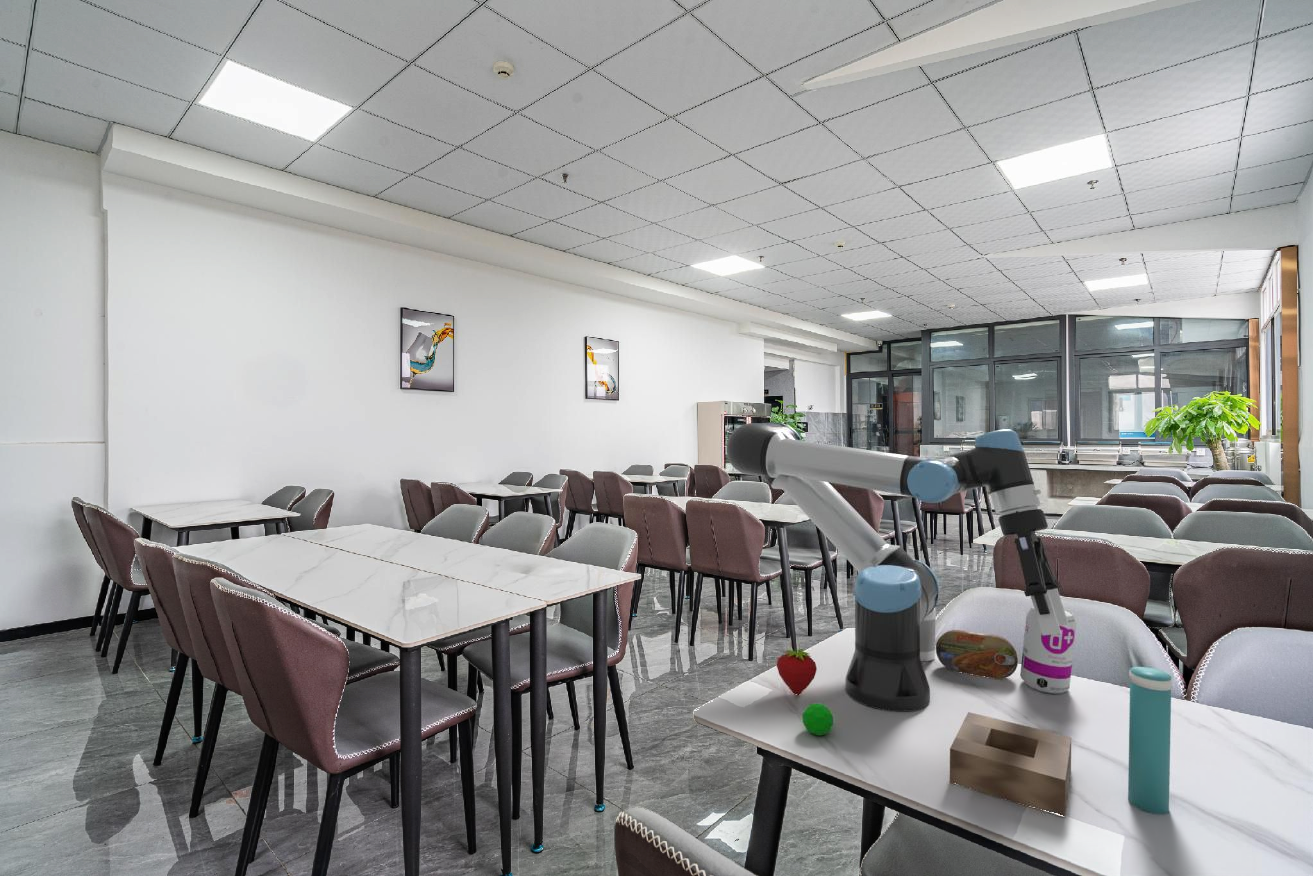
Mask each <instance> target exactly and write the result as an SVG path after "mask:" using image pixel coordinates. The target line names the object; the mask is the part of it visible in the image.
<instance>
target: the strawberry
mask: <svg viewBox="0 0 1313 876" xmlns="http://www.w3.org/2000/svg"><path fill="white" fill-rule="evenodd" d="M782 653H784V654H782V655H780V656H779V657H778V658H777V661H776V662H777V663H776V669H777V671H778V675H779V676H780V678H781V680H782V681H783V682H784V684H785V685H786V687H787V688H788V689H789V690H790V691H791V693H792V694H793V695H795V694H797V695H796V696H799V694H800V695H801V694H802V693H803V692H804V691H805V690H806V689H807V688H808V687H809V686H810V684H811V683H812V681H814V679H815V676H816V673H817V671H818V669H817V664H816V662H815V660H814V659H813V658H812V656H811V655H810V653H809V652H806V651H804V648H800V641H798V649H797V651H796V650H791V649H786V651H782Z"/></svg>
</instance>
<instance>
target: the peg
mask: <svg viewBox="0 0 1313 876" xmlns="http://www.w3.org/2000/svg"><path fill="white" fill-rule="evenodd" d="M1128 676H1129V677H1128V681H1129V716H1128V717H1129V719H1128V722H1129V723H1128V727H1129V728H1128V729H1129V731H1128V776H1127V777H1128V778H1127V779H1128V783H1127V785H1128V786H1127V790H1128V791H1127V799H1128V802H1129V803H1130V804H1131V805H1132V806H1134V807H1135V808H1137V809H1139V810H1141V811H1144V812H1147V813H1151V814H1154V815H1166V814H1168V813H1169V811H1170V778H1171V777H1170V775H1171V729H1172V728H1171V724H1172V723H1171V721H1172V720H1171V719H1172V718H1171V715H1172V711H1171V710H1172V690H1173V677H1172V676H1171V675H1170V673H1168V672H1165V671H1162V670H1160V669H1156V668H1152V667H1146V666H1133V667H1131V668H1130V669H1129V672H1128Z"/></svg>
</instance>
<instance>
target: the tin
mask: <svg viewBox="0 0 1313 876" xmlns="http://www.w3.org/2000/svg"><path fill="white" fill-rule="evenodd" d="M935 655H936V657H937V658H938V661H939V662H940V663H941V664H942V666H944V667H945V668H946V669H948V670H950V671H951V672H954V671H955V673H959V672H962V673H961V674H964V673H967V674H966V675H970V674H973V675H972V676H976V675H978V676H977V677H982V676H985V677H984V678H987V677H988V678H989V679H993V678H994V680H1004V679H1007V678H1009V677H1010V676H1012V675H1013V674H1014V673H1015V671H1016V670H1017V668H1018V664H1019V659H1018V654H1017V651H1016V649H1015V647H1014V645H1013V644H1012V642H1010V641H1008V639H1006V638H1004V637H1003V636H999V635H995V634H988V633H981V632H973V631H968V630H967V631H966V630H960V629H959V630H958V629H952V630H948V631H946V632H944V633H943V634H941V636H940V637H938V639H937V641H936V642H935Z"/></svg>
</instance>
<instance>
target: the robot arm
mask: <svg viewBox="0 0 1313 876" xmlns="http://www.w3.org/2000/svg"><path fill="white" fill-rule="evenodd" d="M726 457H727V459H728V461H729V463H730V464H731V466H732V467H733V468H734V469H735V470H736V471H738V472H739V473H741V474H744V475H747V476H760V477H762V478H763V479H764V481H766V483H767V484H768V485H769V486H770V487H771V488H772V489H774V490H783V492H784V493H785V494H786V495H788V497H789V498H790V499H791V500H792V501H793V502H794V503H795V504H796V506H797V507H798V508H799V509H800V510H801V512H802V513H804V514H805V515H806V516H807V517H808V518H809V519H810V520H811V522H812V523H813V524H814V525H815V526H816V527H817V528H818V529H819V530H820V532H822V534H823V535H824V536H825V537H826V538H827V539H828V540H829V541H830V543H832V545H833V546H834V547H835V548H836V549H837V550H838V551H839V552H840V553H841V554H842V556H844V557H845V559H846V560H847V561H848V562H849V563H850V565H852V566H853V567H854V569H856V571H857V576H856V577H855V585H854V592H853V594H854V614H855V615H854V634H855V635H854V652H853V654H852V658H851V660H850V664H849V667H848V669H847V671H846V675H845V692H846V694H847V695H848V696H849V697H850V698H852V699H853V700H854V701H855V702H857V703H860V704H862V705H865V706H867V707H870V708H874V709H879V710H884V711H892V712H910V711H916V710H921V709H923V708H925V707H928V705H929V703H930V702H931V689H930V684H929V682H928V678H927V675H926V672H925V670H924V666H923V663H922V662H923V661H921V659H920V623H921V622H922V621H923V619H924V618H925V617H926V616H927V615H928V614H929V613H931V612H932V611H933V610H934V608H935V609H936V606H937V604H938V600H939V598H940V593H941V592H940V589H941V588H940V582H939V580H938V577H937V575H936V574H935V572H934V571H933V570H932V569H931V568H930V566H928V565H927V564H926V563H924V562H922V561H921V560H918V559H914V558H912V556H910V555H909V554H908V553H907V551H905V550H904V549H903V548H902V547H901V545H895V544H889V543H888V542H886V540H885V539H884V538H883V537H882V536H881V535H880V534H879V533H878V532H877V531H876V530H875V529H874V528H873V527H872V526H871V525H870V523H868V522H867V520H866V519H865V518H863V517H862V515H861V514H859V512H857V510H856V509H855V508H854V507H853V506H852V505H851V504H850V503H849V502H848V501H847V500H846V499H845V498H844V497H843V496H842V495H841V493H839V492H838V490H837V489H836V488H835V487H833V485H832V484H836V485H844V486H849V487H855V488H861V489H867V490H870V491H871V490H872V491H878V492H884V493H890V494H896V495H901V496H905V497H911V498H915V499H917V500H918V501H921V502H924V503H929V504H939V503H942V502H945V501H947V500H948V499H950V498H951V497H952V496H954V495H956V494H959V493H962V492H967V491H970V490H975V489H978V488H979V489H980V488H984V487H988V490H989V493H990V497H991V500H992V501H991V502H992V504H993V508H994V511H995V513H996V514H997V515H1000V516H999V517H998V523H999V526H1000V529H1001V530H1000V531H1001V533H1002V535H1003V537H1009V536H1011V537H1012V536H1017V538H1014V544H1015V546H1016V550H1017V553H1018V557H1019V562H1020V566H1021V571H1022V574H1023V580H1024V584H1025V590H1023V593H1024V595H1025V597H1030V599H1031V601H1032V605H1033V606H1034V609H1035V612H1036V615H1037V619H1038V622H1039V625H1040V628H1041V632H1042V635H1052V634H1061V631H1060V628H1059V626H1062V625H1069V623H1068V620H1067V617H1066V614H1065V611H1064V609H1065V608H1064V605H1063V602H1062V598H1061V595H1060V592H1059V589H1060V588H1062V585H1061V582H1060V581H1057V579H1056V577H1055V575H1054V572H1053V570H1052V567H1051V565H1050V562H1049V559H1048V556H1047V554H1046V550H1045V545H1044V542H1043V541H1042V538H1041V537H1040V536H1037V534H1036V532H1038V531H1039V532H1040V531H1045V530H1046V529H1048V528H1049V526H1048V525H1049V524H1048V522H1047V519H1046V515H1045V512H1044V510H1043V509H1041V508H1038V507H1040V506H1041V501H1040V498H1039V497H1038V496H1037V495H1040V494H1041V493H1042V491H1041V489H1039V488H1036V486H1035V482H1034V479H1033V475H1032V473H1031V470H1030V466H1029V463H1028V458H1027V456H1026V453H1025V450H1024V448H1023V446H1022V442H1021V440H1020V438H1019V435H1018V433H1017V432H1016V431H1014V430H1013V429H1010V428H1009V429H1007V428H1005V429H998V430H994V431H990V432H986V433H984V434H981V435H978V436H977V437H976V438H975V439H974V448H971V449H969V450H966V451H961V452H957V453H953V454H950V455H946V456H945V455H944V456H941V457H935V458H928V457H920V456H915V455H914V456H912V455H906V454H899V453H898V454H897V453H891V452H884V451H878V450H869V449H864V448H863V449H862V448H857V447H849V446H842V445H836V444H835V445H834V444H828V443H822V442H821V443H820V442H815V441H814V442H813V441H806V440H802V437H801V436H800V434H799V433H798V431H796V430H795V428H794V427H792V426H790V425H788V424H784V423H782V422H776V421H769V422H760V423H759V422H757V423H756V422H750V423H746V424H742V425H740V426H738V427H737V428H735V430H734V431H732V433H731V434H730V435H729V437H728V440H727V443H726ZM830 483H831V484H830Z"/></svg>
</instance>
